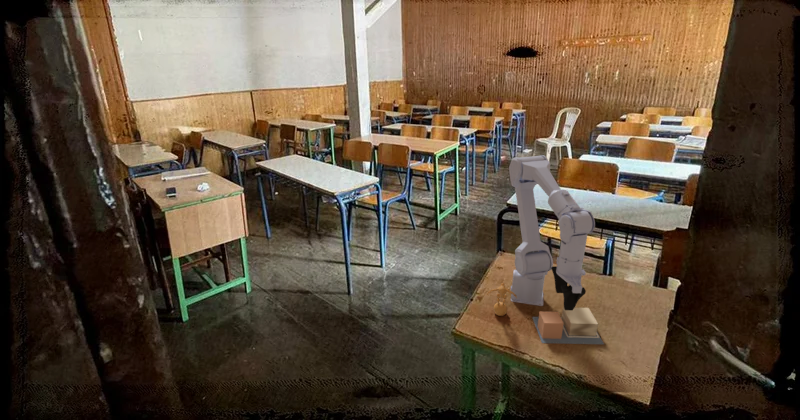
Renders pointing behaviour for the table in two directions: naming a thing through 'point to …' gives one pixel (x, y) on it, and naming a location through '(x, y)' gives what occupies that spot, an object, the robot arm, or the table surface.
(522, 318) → the table surface
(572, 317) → the maple base block
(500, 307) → the figurine
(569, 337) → the mat
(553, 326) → the terracotta cube
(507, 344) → the table surface
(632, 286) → the table surface
